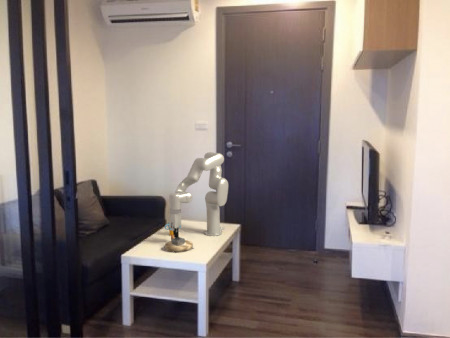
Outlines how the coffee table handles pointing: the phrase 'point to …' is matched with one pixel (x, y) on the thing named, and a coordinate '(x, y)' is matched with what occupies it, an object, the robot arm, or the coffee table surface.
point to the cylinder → (169, 229)
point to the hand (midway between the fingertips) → (176, 237)
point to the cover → (178, 241)
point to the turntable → (174, 248)
